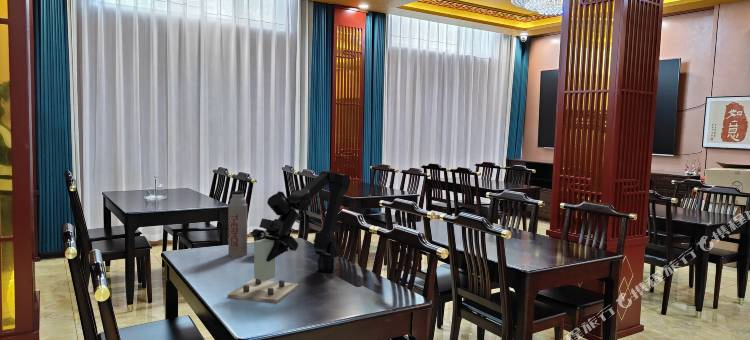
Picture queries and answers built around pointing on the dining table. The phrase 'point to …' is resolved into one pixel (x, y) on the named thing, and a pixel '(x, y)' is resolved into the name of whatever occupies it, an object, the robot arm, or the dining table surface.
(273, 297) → the peg board
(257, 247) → the sage block
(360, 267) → the dining table surface
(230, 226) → the thermos bottle
